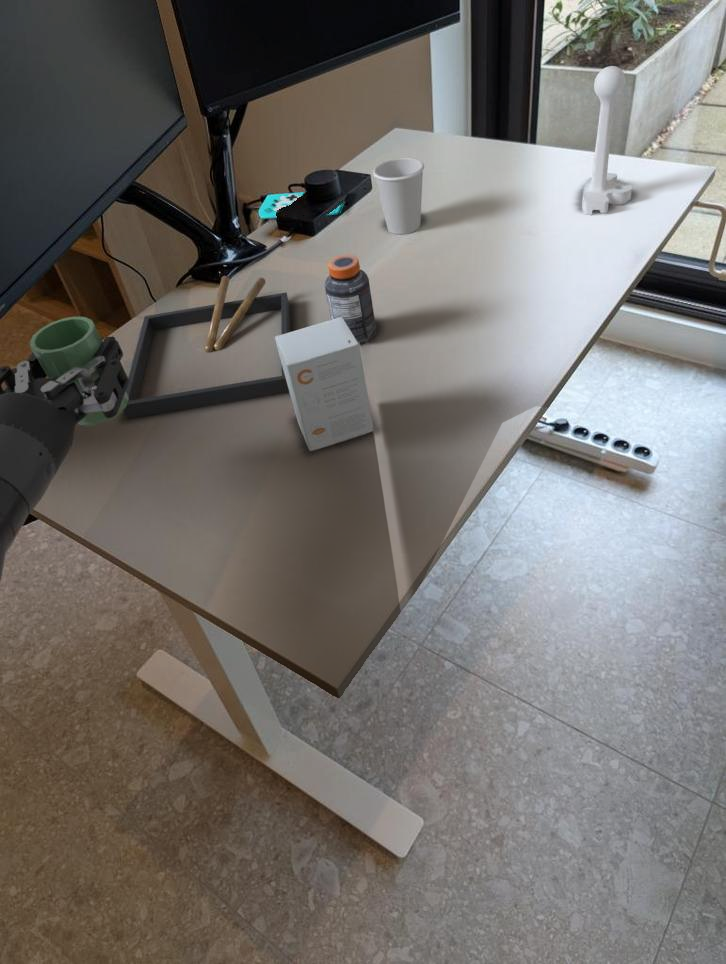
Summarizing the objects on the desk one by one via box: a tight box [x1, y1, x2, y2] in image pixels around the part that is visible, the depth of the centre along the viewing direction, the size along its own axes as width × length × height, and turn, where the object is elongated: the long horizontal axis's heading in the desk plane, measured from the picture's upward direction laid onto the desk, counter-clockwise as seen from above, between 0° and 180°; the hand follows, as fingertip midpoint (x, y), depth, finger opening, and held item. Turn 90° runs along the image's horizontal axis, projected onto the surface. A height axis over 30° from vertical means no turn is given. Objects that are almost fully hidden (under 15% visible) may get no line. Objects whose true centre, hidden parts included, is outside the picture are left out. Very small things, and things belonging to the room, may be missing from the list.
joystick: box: [581, 65, 633, 216], centre depth 107 cm, size 11×8×20 cm
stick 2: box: [213, 277, 266, 351], centre depth 99 cm, size 1×1×14 cm
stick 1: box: [204, 275, 230, 353], centre depth 99 cm, size 1×1×14 cm
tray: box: [122, 292, 291, 420], centre depth 95 cm, size 22×22×3 cm
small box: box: [274, 317, 375, 452], centre depth 77 cm, size 8×6×13 cm
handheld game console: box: [258, 191, 346, 219], centre depth 128 cm, size 10×16×1 cm, turn 81°
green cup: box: [29, 316, 129, 426], centre depth 69 cm, size 6×6×9 cm
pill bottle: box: [324, 254, 377, 346], centre depth 92 cm, size 6×6×11 cm
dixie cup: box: [372, 157, 425, 235], centre depth 114 cm, size 8×8×10 cm
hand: (82, 346), depth 69 cm, fingers closed on green cup, 6 cm apart
